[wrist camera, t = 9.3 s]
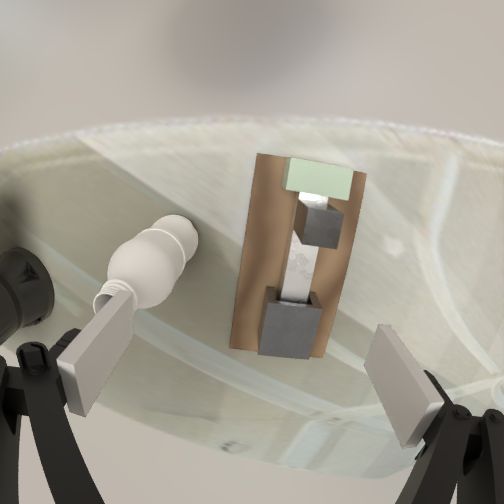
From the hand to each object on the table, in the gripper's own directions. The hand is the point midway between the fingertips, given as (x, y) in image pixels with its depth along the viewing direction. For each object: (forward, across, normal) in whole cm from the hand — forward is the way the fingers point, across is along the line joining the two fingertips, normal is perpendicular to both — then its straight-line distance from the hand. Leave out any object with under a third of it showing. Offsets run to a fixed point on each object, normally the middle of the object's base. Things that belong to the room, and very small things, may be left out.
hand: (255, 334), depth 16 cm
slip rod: (+31, +7, -2) cm, 32 cm away
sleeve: (+32, +7, -14) cm, 35 cm away
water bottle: (+32, -11, -4) cm, 34 cm away
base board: (+32, +7, -6) cm, 33 cm away
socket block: (+32, +7, +8) cm, 33 cm away
